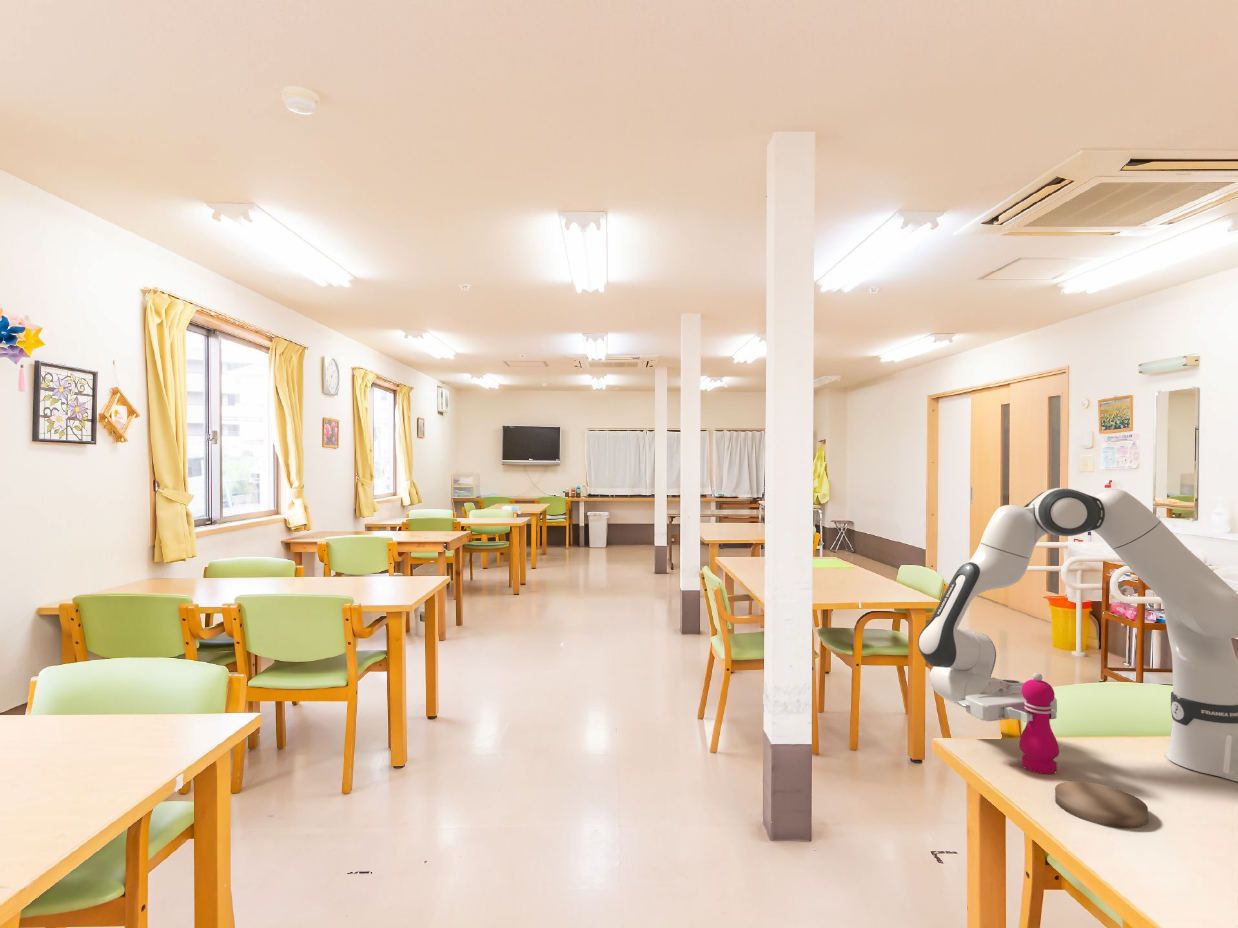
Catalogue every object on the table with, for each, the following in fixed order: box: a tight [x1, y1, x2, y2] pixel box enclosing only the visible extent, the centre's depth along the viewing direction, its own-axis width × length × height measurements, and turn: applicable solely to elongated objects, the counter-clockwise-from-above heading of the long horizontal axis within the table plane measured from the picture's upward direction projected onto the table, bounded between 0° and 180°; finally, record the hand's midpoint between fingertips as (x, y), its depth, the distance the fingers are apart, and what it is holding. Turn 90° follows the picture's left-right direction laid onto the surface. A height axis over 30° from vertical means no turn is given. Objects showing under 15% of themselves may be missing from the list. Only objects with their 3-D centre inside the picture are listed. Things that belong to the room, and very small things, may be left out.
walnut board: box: [1054, 780, 1149, 829], centre depth 125 cm, size 14×14×2 cm
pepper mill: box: [1018, 672, 1060, 775], centre depth 144 cm, size 7×7×20 cm
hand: (1042, 716), depth 143 cm, fingers closed on pepper mill, 5 cm apart
